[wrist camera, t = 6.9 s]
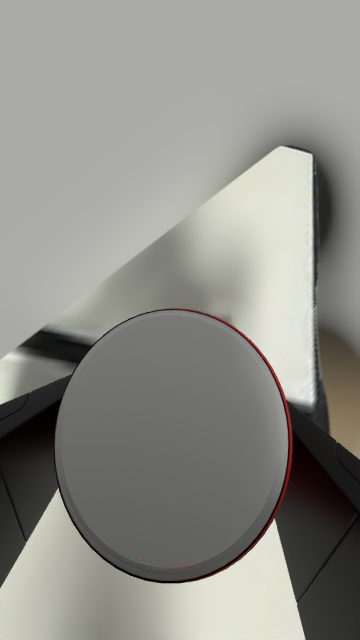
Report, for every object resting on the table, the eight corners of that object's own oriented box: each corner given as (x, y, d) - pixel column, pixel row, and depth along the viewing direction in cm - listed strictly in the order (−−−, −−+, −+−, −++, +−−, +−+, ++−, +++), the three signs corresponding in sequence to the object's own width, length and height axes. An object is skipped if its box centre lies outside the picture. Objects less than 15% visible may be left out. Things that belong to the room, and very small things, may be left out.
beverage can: (144, 467, 13) (-41, 734, 2) (137, 375, 16) (34, 301, 5) (230, 449, 14) (421, 615, 3) (210, 362, 16) (264, 266, 5)
